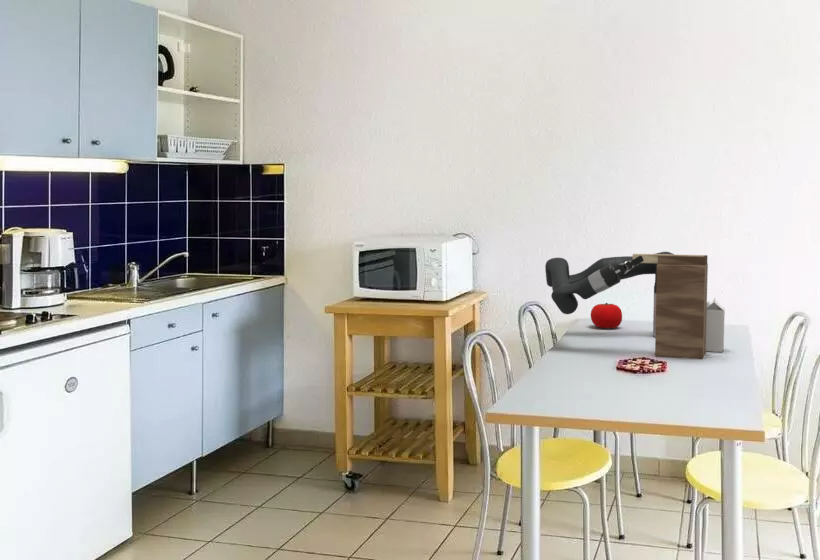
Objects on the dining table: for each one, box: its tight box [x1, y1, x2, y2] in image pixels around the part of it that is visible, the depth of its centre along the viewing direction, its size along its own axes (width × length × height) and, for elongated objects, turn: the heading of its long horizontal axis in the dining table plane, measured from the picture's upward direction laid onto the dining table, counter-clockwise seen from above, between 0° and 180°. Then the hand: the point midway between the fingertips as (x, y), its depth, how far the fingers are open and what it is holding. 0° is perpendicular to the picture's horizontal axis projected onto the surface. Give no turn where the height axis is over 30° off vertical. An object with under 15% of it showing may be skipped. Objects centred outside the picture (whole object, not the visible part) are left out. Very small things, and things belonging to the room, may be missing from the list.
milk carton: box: [706, 296, 726, 353], centre depth 357 cm, size 7×7×19 cm
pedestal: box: [654, 254, 709, 360], centre depth 347 cm, size 12×16×35 cm
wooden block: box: [632, 253, 705, 263], centre depth 347 cm, size 3×24×3 cm, turn 69°
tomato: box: [590, 302, 623, 329], centre depth 413 cm, size 14×13×10 cm
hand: (644, 257), depth 350 cm, fingers open, 8 cm apart
